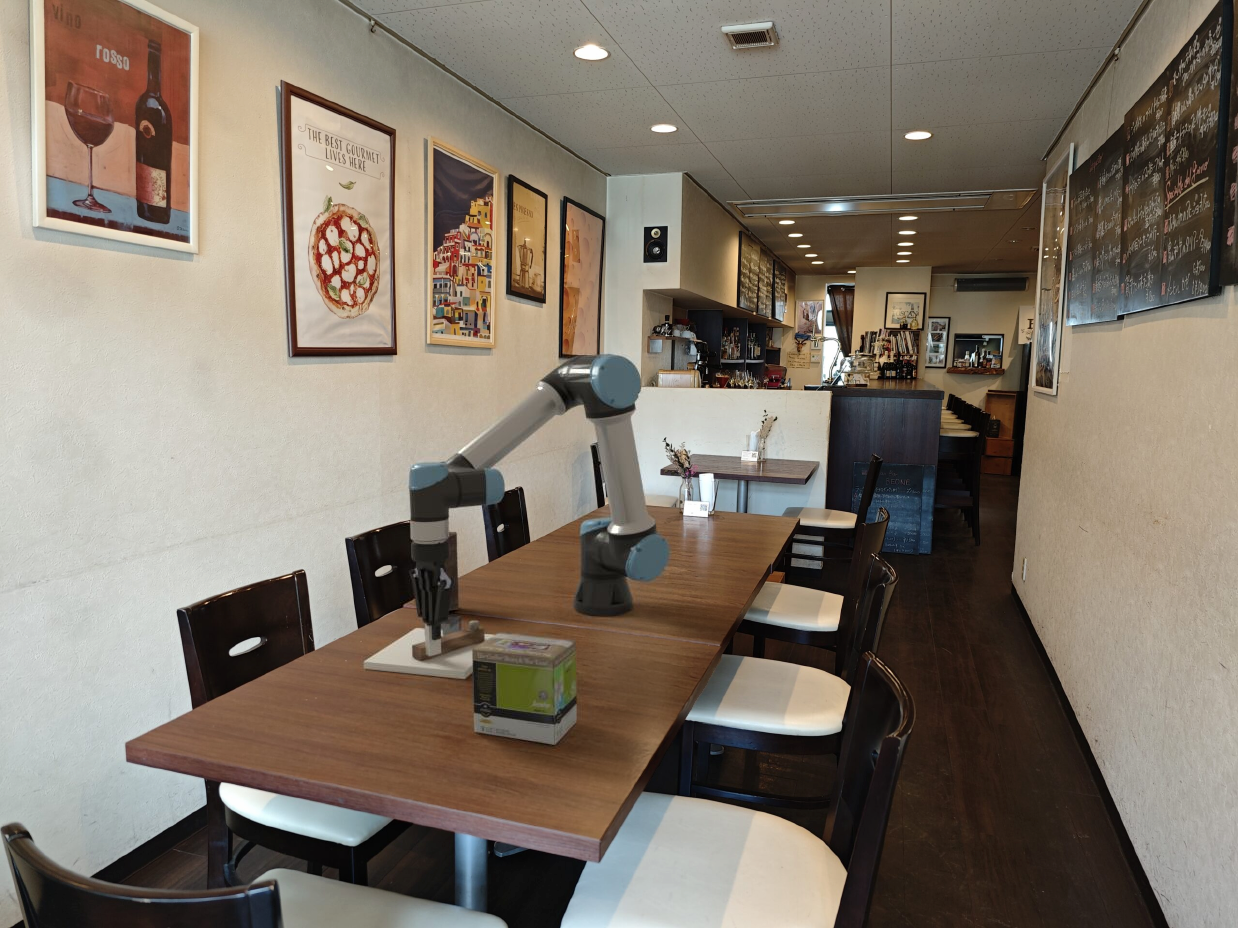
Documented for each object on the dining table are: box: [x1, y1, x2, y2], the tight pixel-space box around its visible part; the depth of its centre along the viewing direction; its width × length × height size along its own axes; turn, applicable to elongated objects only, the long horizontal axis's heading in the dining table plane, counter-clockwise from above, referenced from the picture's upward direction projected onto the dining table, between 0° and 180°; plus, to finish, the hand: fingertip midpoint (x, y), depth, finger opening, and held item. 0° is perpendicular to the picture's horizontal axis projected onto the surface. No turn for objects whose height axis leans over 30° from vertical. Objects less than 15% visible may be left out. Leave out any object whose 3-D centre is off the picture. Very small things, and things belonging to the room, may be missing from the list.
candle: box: [445, 531, 460, 612], centre depth 199 cm, size 8×7×20 cm
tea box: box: [472, 631, 578, 746], centre depth 134 cm, size 15×10×15 cm
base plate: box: [363, 627, 495, 680], centre depth 169 cm, size 22×22×2 cm
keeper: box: [441, 614, 462, 635], centre depth 175 cm, size 4×6×4 cm
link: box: [412, 620, 485, 661], centre depth 168 cm, size 17×4×4 cm, turn 140°
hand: (433, 653), depth 162 cm, fingers closed
